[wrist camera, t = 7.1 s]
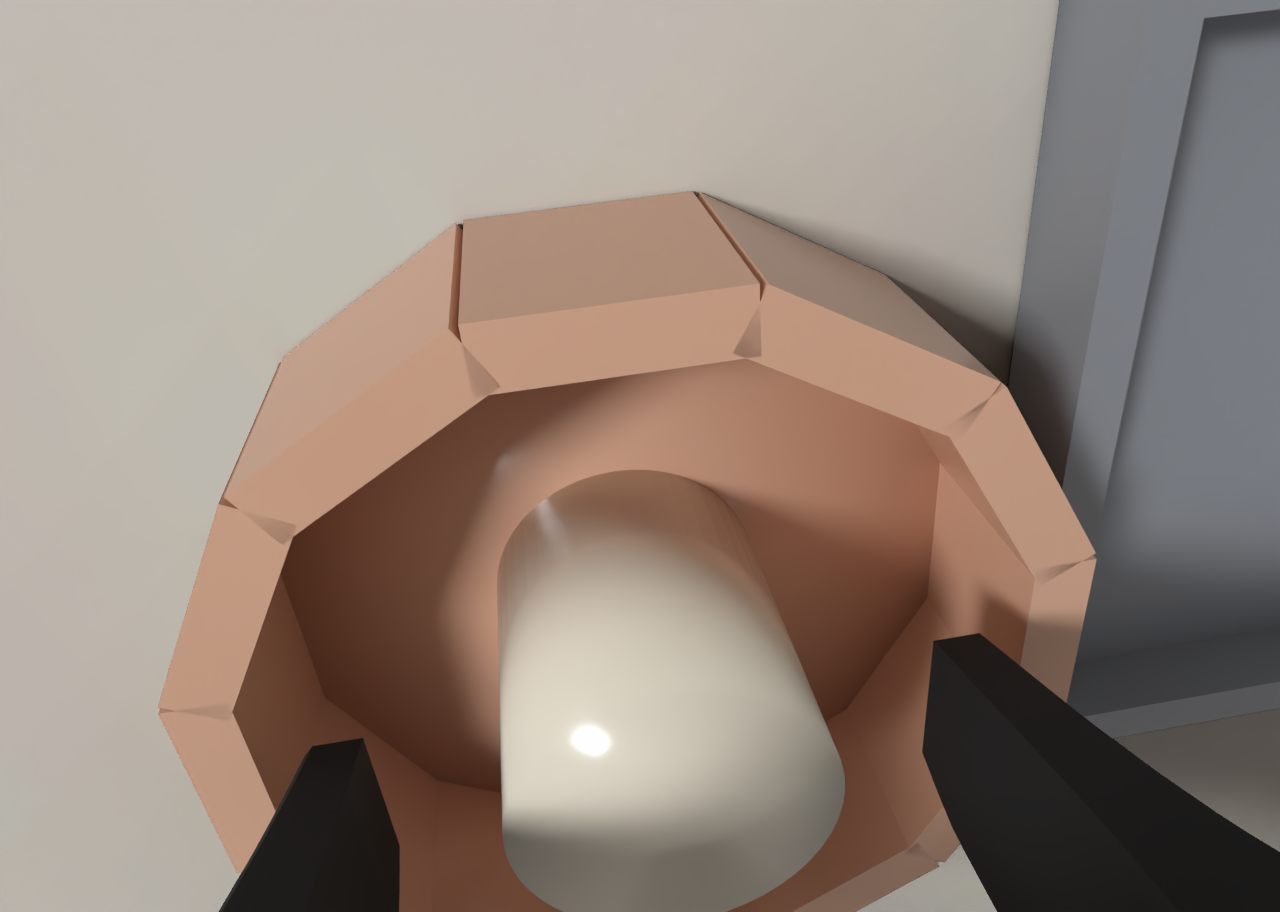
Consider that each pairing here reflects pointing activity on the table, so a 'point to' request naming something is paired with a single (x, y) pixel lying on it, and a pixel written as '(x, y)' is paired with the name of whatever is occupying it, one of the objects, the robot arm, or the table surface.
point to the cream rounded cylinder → (652, 706)
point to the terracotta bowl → (595, 444)
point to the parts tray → (1162, 349)
